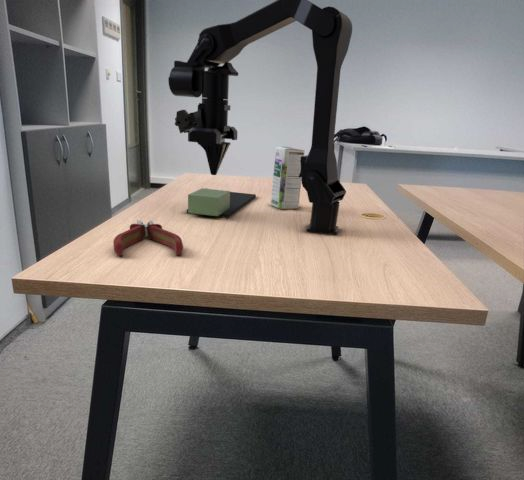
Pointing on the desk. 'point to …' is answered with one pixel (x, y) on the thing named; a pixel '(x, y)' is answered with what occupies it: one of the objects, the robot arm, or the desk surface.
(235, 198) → the charcoal mat
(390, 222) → the desk surface
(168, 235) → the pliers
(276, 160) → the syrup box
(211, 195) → the sage block
